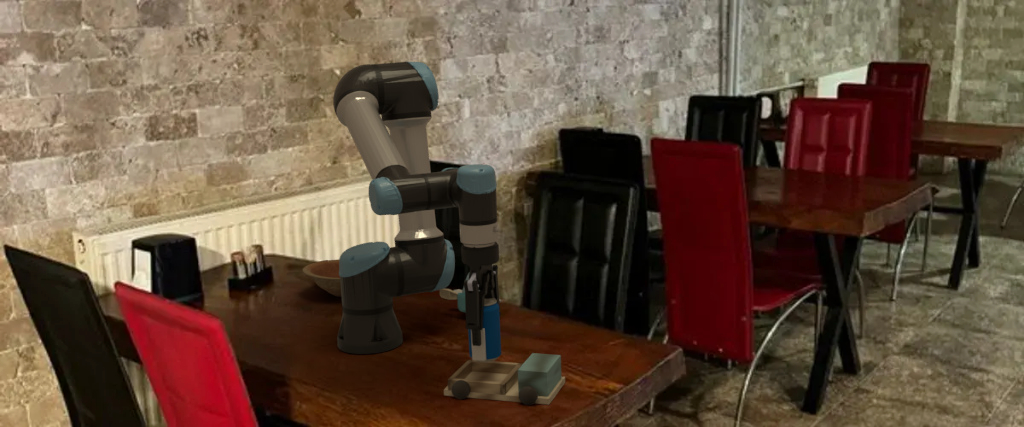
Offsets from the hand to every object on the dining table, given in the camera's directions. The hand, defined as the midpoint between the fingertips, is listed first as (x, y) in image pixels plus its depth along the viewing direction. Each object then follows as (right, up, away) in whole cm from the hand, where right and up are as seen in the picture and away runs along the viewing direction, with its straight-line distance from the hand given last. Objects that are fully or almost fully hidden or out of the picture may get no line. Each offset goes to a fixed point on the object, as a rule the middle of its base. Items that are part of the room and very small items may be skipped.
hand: (485, 353), depth 202 cm
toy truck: (+4, -7, 0) cm, 8 cm away
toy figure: (-4, +3, +50) cm, 50 cm away
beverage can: (0, -1, 0) cm, 1 cm away
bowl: (-40, +6, +75) cm, 85 cm away
